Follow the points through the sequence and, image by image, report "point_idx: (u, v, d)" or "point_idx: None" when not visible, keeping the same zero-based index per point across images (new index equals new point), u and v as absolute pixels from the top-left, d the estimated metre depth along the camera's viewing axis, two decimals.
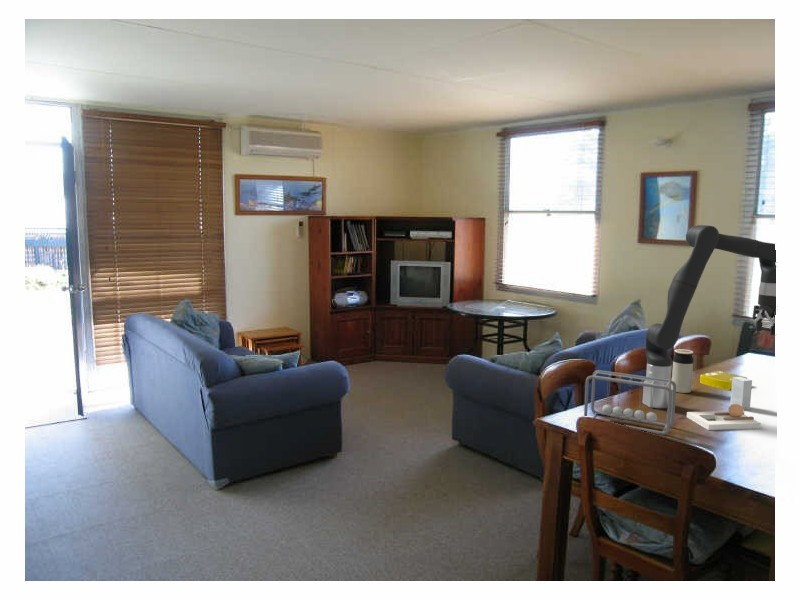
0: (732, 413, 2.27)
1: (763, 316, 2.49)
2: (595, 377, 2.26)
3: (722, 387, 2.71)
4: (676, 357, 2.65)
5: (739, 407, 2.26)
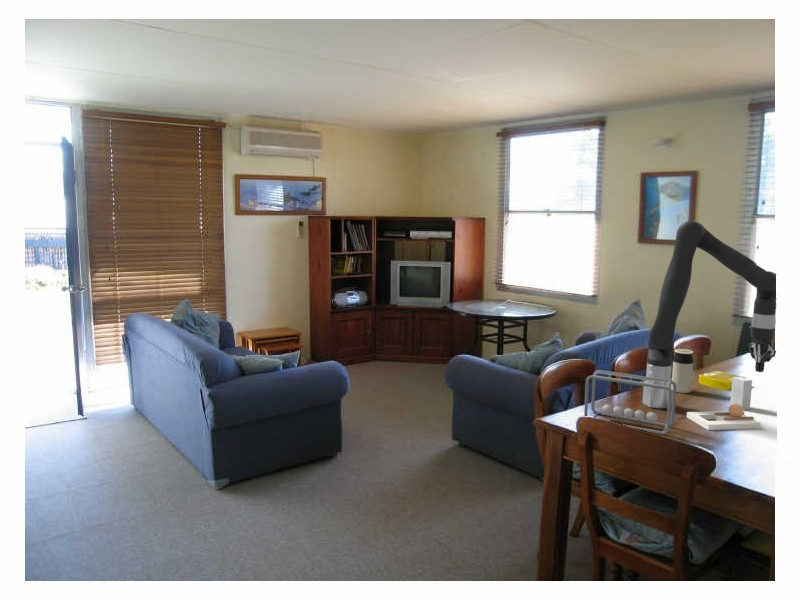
0: (732, 413, 2.27)
1: None
2: (595, 377, 2.26)
3: (721, 387, 2.71)
4: (676, 357, 2.65)
5: (739, 407, 2.26)
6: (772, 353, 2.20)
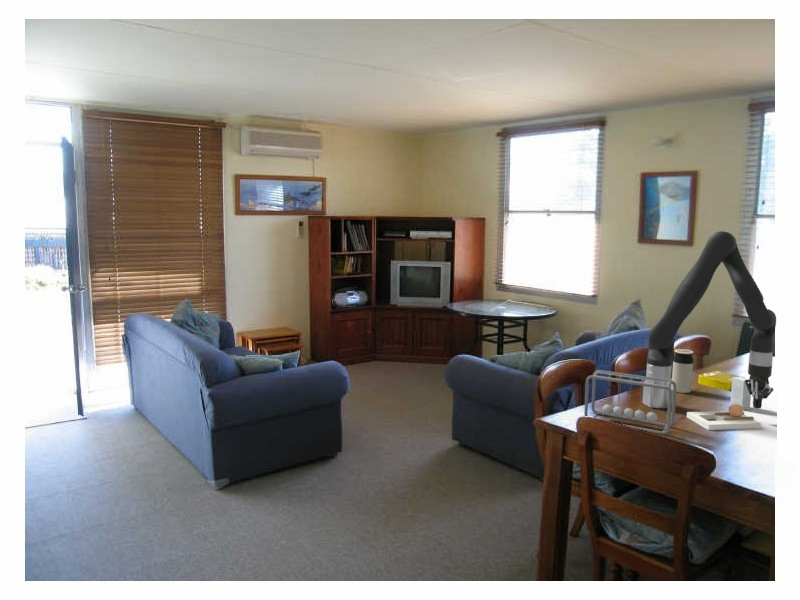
0: (732, 413, 2.27)
1: None
2: (595, 377, 2.26)
3: (721, 387, 2.71)
4: (676, 357, 2.65)
5: (739, 407, 2.26)
6: (769, 390, 2.22)
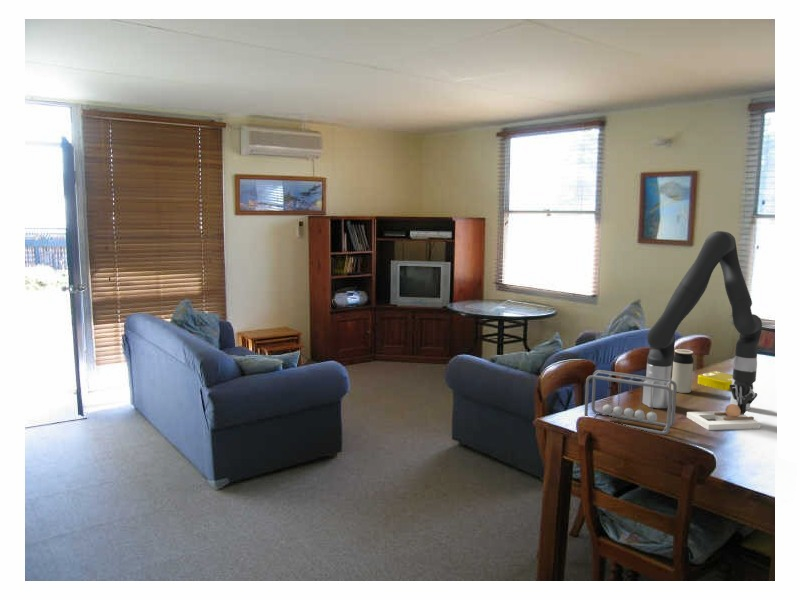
0: (730, 416, 2.27)
1: None
2: (595, 377, 2.26)
3: (720, 387, 2.71)
4: (676, 357, 2.65)
5: (734, 408, 2.26)
6: (753, 396, 2.22)
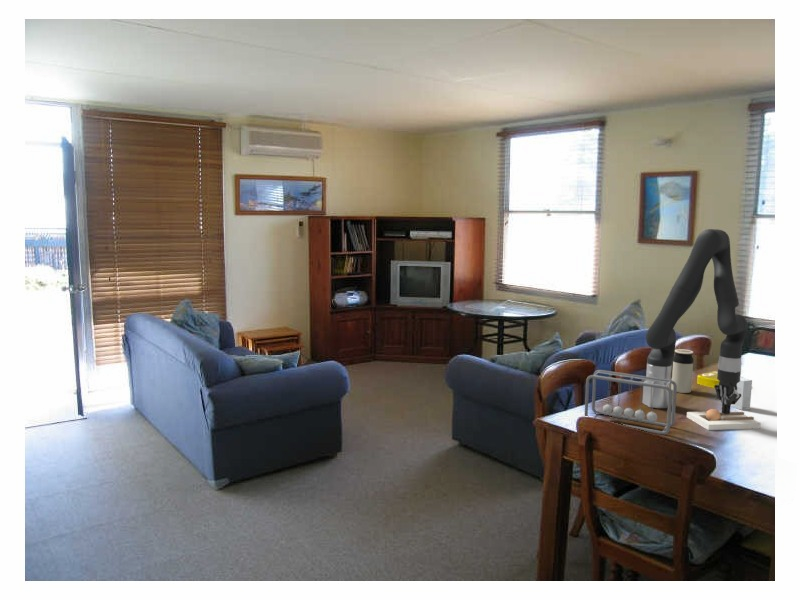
0: (718, 411, 2.27)
1: None
2: (595, 377, 2.27)
3: None
4: (676, 357, 2.65)
5: (718, 420, 2.26)
6: (737, 396, 2.21)
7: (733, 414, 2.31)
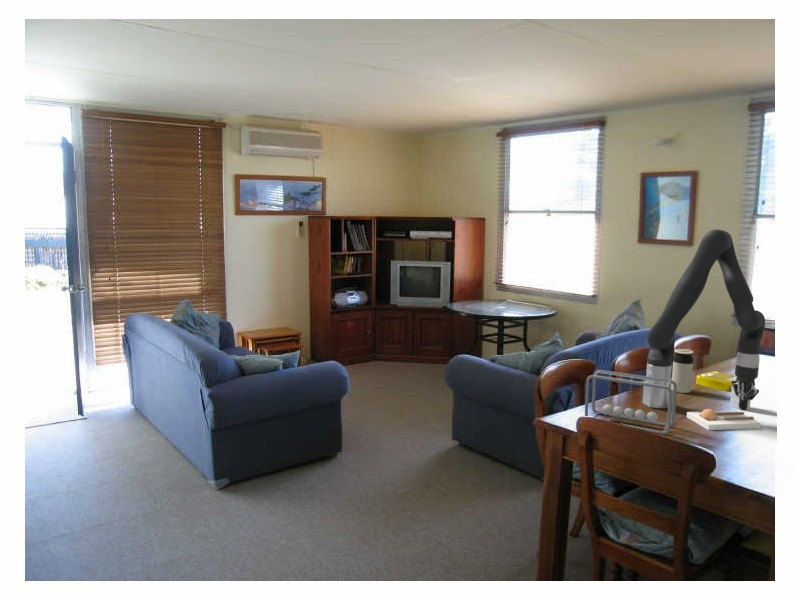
0: (709, 409, 2.27)
1: None
2: (596, 377, 2.27)
3: (719, 388, 2.70)
4: (676, 357, 2.65)
5: (715, 417, 2.26)
6: (755, 392, 2.21)
7: (733, 414, 2.31)
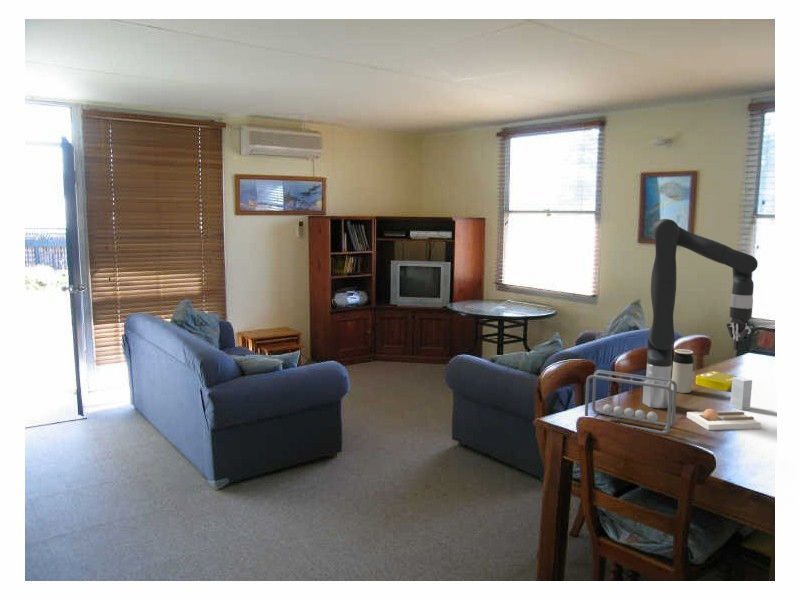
0: None
1: None
2: (596, 377, 2.27)
3: (719, 388, 2.70)
4: (676, 357, 2.65)
5: (716, 418, 2.26)
6: (749, 332, 2.30)
7: (733, 414, 2.31)
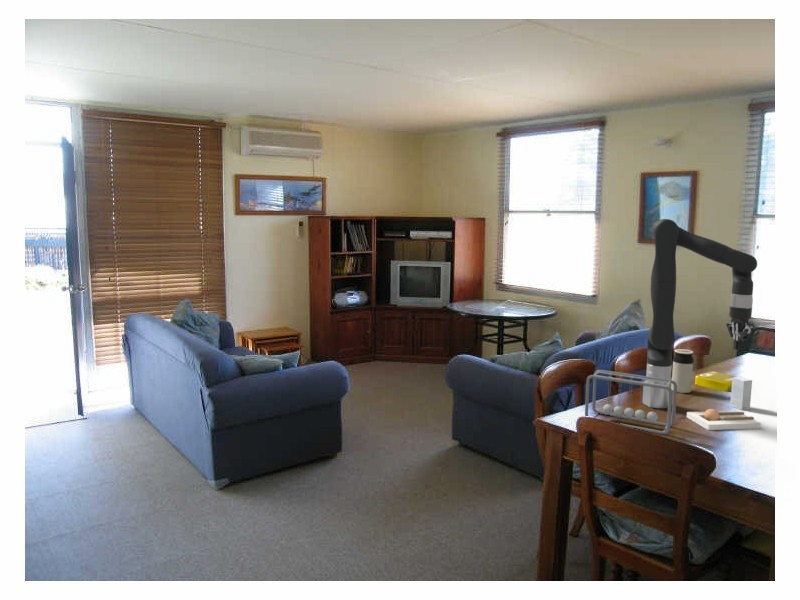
0: (715, 410, 2.28)
1: None
2: (596, 376, 2.27)
3: (718, 388, 2.70)
4: (676, 357, 2.65)
5: (717, 418, 2.26)
6: (749, 331, 2.31)
7: (733, 414, 2.31)
